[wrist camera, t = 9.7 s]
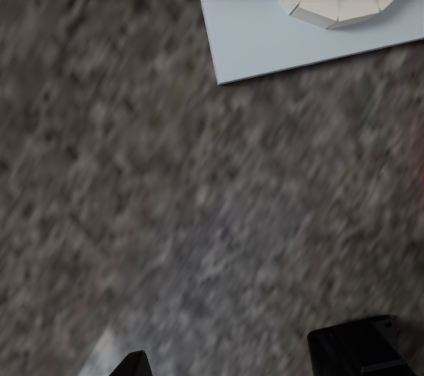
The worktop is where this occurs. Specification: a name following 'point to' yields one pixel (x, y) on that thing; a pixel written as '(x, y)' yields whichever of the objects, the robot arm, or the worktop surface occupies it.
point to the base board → (302, 32)
